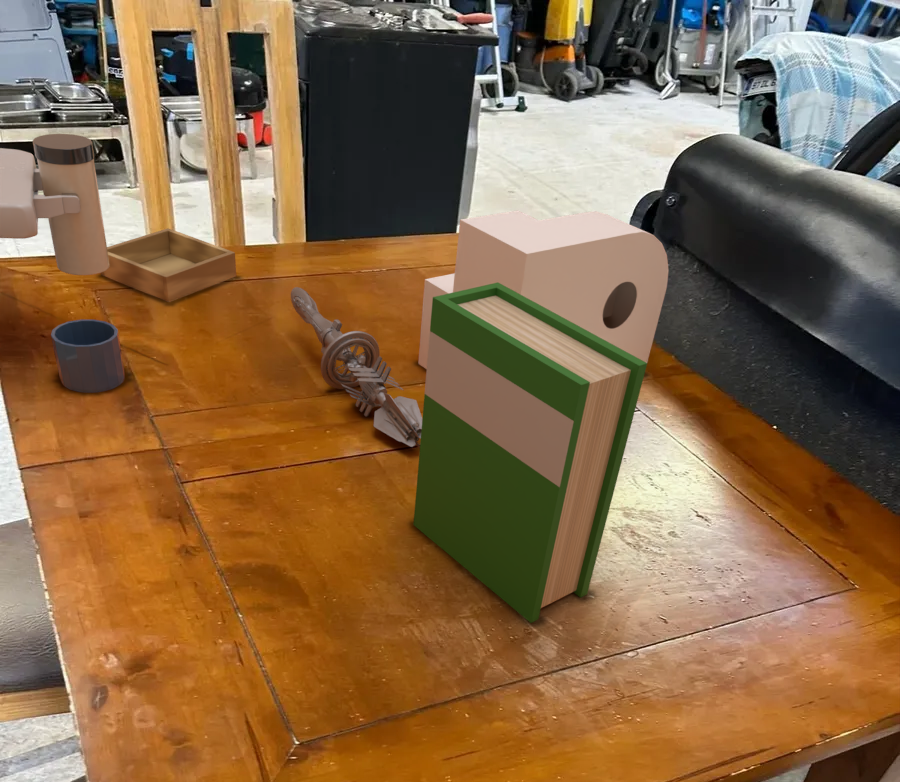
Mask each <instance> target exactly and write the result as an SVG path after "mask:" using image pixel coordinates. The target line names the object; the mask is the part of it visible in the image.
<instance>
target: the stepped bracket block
mask: <svg viewBox="0 0 900 782" xmlns="http://www.w3.org/2000/svg"><path fill="white" fill-rule="evenodd" d="M457 236H458V238H457V246H456V247H457V248H456V257H455V266H454V272H453V273H450V274H445V275H440V276H435V277H429V278H424V285H423V298H422V299H423V300H422V312H421V323H420V325H421V326H420V338H419V350H418V363H417V364H418V365H419V366H421V367H422V368H424V369H425V370H427V359H428V348H429V336H430V324H431V312H432V301H433V297H436V296H440V295H444V294H449V293H453V292H458V291H462V290H467V289H471V288H475V287H480V286H484V285H489V284H493V283H497V282H498V283H500V284H502V285H504V286H506V287H508V288H509V289H511V290H513V291H515V292H517V293H519V294H520V295H522V296H524V297H526V298H528V299H530V300H532V301H533V302H535V303H537V304H539V305H541V306H543V307H544V308H546V309H548V310H550V311H552V312H554V313H555V314H557V315H559V316H561V317H563V318H565V319H567V320H568V321H570V322H572V323H574V324H576V325H578V326H579V327H581V328H583V329H585V330H587V331H589V332H591V333H592V334H594V335H596V336H598V337H600V338H602V339H603V340H605V341H607V342H609V343H611V344H613V345H615V346H616V347H618V348H620V349H622V350H624V351H626V352H627V353H629V354H631V355H633V356H635V357H637V358H639V359H640V360H642V361H644V362H646V363H647V364H648V362H649V357H650V354H651V349H652V347H653V342H654V339H655V336H656V335H655V334H656V331H657V327H658V323H659V319H660V315H661V312H662V308H663V303H664V300H665V297H666V292H667V288H668V280H669V271H670V270H669V261H668V255H667V252H666V250H665V246H664V245H663V243H662V242H661V240H659V238H657V237H656V236H655V235H654V234H652V233H650V232H649V231H645V230H644V229H640V228H639V227H636V226H634V225H632V224H629V223H628V222H625V221H623V220H621V219H618V218H616V217H614V216H611V215H610V214H606V213H603V212H600V211H597V210H593V211H586V212H579V213H573V214H567V215H562V216H556V217H550V218H544V219H538V218H535V217H533V216H531V215H529V214H527V213H524V212H523V211H520V210H519V209H518V210H511V211H505V212H499V213H493V214H487V215H480V216H474V217H467V218H462V219H459V228H458V235H457Z"/></svg>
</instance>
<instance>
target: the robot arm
mask: <svg viewBox="0 0 900 782" xmlns="http://www.w3.org/2000/svg"><path fill="white" fill-rule="evenodd" d="M39 192H43V188H42V183H41V178H40V172H39V168H37V165H36V160H35V155H33V154H32V153H31V152H29V151H25V150H21V149H14V148H5V147H3V148H2V147H0V239H15V240H16V239H18V240H19V239H20V240H22V239H23V240H25V239H29V238H33V237H36V236H37V235H38V234H39V219H48V218H52V217H55V216H59V215H62V214H71V213H80V211H81V207H80V200H79V196H78V194H76V193H62V195H56V196H45V195H44V194H39Z"/></svg>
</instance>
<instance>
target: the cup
mask: <svg viewBox="0 0 900 782" xmlns="http://www.w3.org/2000/svg"><path fill="white" fill-rule="evenodd" d="M50 337H51V338H50V339H51V342H52V347H53V353H54V357H55V362H56V366H57V373H58V376H59V380H60V382H61V384H62V385H63V386H64V387H65V388H66V389H68V390H70V391H74V392H77V393H87V394H88V393H89V394H90V393H91V394H92V393H102V392H106V391H110V390H113V389H115V388H117V387H119V386H120V385H121V384H122V383H124V381H125V378H126V377H125V367H124V359H123V353H122V347H121V340H120V334H119V329H118V328H117V327H116V326H115V325H114V324H112V323H110V322H108V321H105V320H99V319H93V318H92V319H89V318H87V319H86V318H85V319H83V318H82V319H75V320H69V321H66V322H63V323H61V324H58V325H57V326H56V327H54V328H53V329H52V330H51V334H50Z"/></svg>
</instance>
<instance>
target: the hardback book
mask: <svg viewBox="0 0 900 782" xmlns="http://www.w3.org/2000/svg"><path fill="white" fill-rule="evenodd" d="M647 366H648V362H647V363H646V362H644V361H642V360H640V359H639V358H637V357H635V356H633V355H631V354H629V353H627V352H626V351H624V350H622V349H620V348H618V347H616V346H615V345H613V344H611V343H609V342H607V341H605V340H603V339H602V338H600V337H598V336H596V335H594V334H592V333H591V332H589V331H587V330H585V329H583V328H581V327H579V326H578V325H576V324H574V323H572V322H570V321H568V320H567V319H565V318H563V317H561V316H559V315H557V314H555V313H554V312H552V311H550V310H548V309H546V308H544V307H543V306H541V305H539V304H537V303H535V302H533V301H532V300H530V299H528V298H526V297H524V296H522V295H520V294H519V293H517V292H515V291H513V290H511V289H509V288H508V287H506V286H504V285H502V284H500V283H498V282H497V283H493V284H489V285H484V286H480V287H475V288H471V289H467V290H462V291H458V292H453V293H449V294H444V295H440V296H436V297H433V301H432V312H431V324H430V336H429V348H428V359H427V369H426V373H425V385H424V396H423V408H422V430H421V438H420V443H419V446H420V448H419V455H418V467H417V478H416V488H415V489H416V490H415V500H414V502H415V503H414V511H413V512H414V514H413V524H412V525H413V526H414V527H415V528H417V529H418V530H419V531H420V532H421V533H422V534H424V535H425V536H426V537H427V538H428V539H430V540H431V541H432V542H433V543H434V544H435V545H436V546H438V547H439V548H440V549H441V550H443V551H444V552H445V553H446V554H448V555H449V556H450V557H451V558H452V559H453V560H455V561H456V562H457V563H458V564H459V565H461V566H462V567H463V568H464V569H466V570H467V572H469V573H470V574H471V575H472V576H474V577H475V578H476V579H477V580H479V581H480V582H481V583H482V584H483V585H485V586H486V587H487V588H488V589H489V590H491V591H492V592H493V593H494V594H495V595H497V596H498V597H499V598H500V600H503V601H504V602H505V603H506V604H507V605H508V606H510V607H511V608H512V609H513V610H515V611H516V612H517V613H518V614H519V615H520V616H521V617H522V618H524V619H525V620H526V621H527V622H529V623H530V624H533V623H534V622H536V621H538V620H539V618H540V613H541V609H542V608H544V607H546V606H548V605H551V604H552V603H554V602H556V601H559V600H560V599H563V598H564V597H567V596H568V595H570V594H572V593H573V594H575V595H576V596H577V597H578V598H583V597H585V596H587V595H588V592H589V589H590V585H591V581H592V578H593V574H594V570H595V565H596V562H597V558H598V555H599V550H600V548H601V547H600V546H601V543H602V538H603V535H604V530H605V528H606V524H607V520H608V517H609V516H608V515H609V511H610V509H611V505H612V500H613V497H614V493H615V490H616V489H615V488H616V484H617V482H618V478H619V473H620V470H621V466H622V461H623V459H624V454H625V451H626V447H627V443H628V438H629V435H630V431H631V427H632V423H633V420H634V416H635V413H636V408H637V404H638V400H639V396H640V392H641V389H642V385H643V381H644V377H645V374H646V371H647V370H646V369H647Z"/></svg>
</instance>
